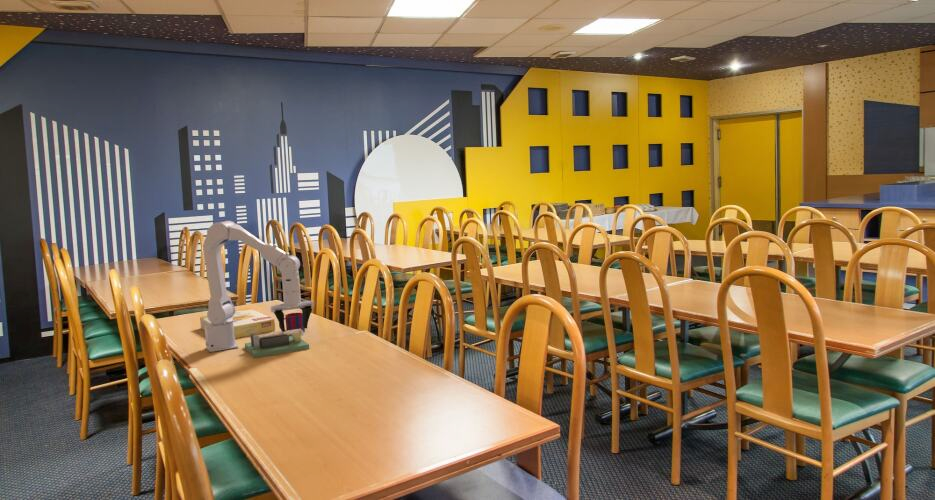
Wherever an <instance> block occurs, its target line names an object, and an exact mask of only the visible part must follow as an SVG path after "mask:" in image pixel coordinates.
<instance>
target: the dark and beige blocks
mask: <svg viewBox="0 0 935 500" xmlns="http://www.w3.org/2000/svg"><path fill="white" fill-rule="evenodd" d="M254 335H256V336H254ZM258 335H259V334H256V333H255V332H253V333H250V336H249V338H250V342H251V346H254V349H255V350H256V349H260V347H261V348H262V349H266V348H272V347H278V346H285V345H290V342H289V336H290V335H282V336H275V337H269V338H262V339H259V336H258ZM291 336H292V340H293V341H295V342H300V341H301V339H302V336H301V333H295V334H291Z"/></svg>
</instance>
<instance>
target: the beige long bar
mask: <svg viewBox="0 0 935 500" xmlns="http://www.w3.org/2000/svg"><path fill="white" fill-rule="evenodd" d="M295 333H301V337H303V336H304V332H303V330H302V329H295V330H288V331H285V332H282V331H276V332H275V331H273V332H267V333H261V334H256V335H258V336H259V339H262V338H269V337H275V336H282V335H288V336H290V335H292V334H295ZM256 335H254V336H256Z"/></svg>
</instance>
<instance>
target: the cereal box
mask: <svg viewBox="0 0 935 500" xmlns="http://www.w3.org/2000/svg"><path fill="white" fill-rule="evenodd" d="M232 318H233V324H234V336H235V339H239V338H243V337H244V338H245V337H250V333H253V332H255V333H256V335H261V334H267V333H272V332H275V331H276V324H275V319H274V318H273V317H271V316H268V315H267V314H264V313H262V312H259V311H257V310H255V309H252V308H250V307H247V308H241V309H235V313H234V315H233V316H232ZM199 322H200V328H201V329H202V330H203V329H204V331H205V325H209V324H211V322H210V321H209V319H208V317H207V315H205V316H200V318H199Z"/></svg>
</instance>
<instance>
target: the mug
mask: <svg viewBox="0 0 935 500" xmlns="http://www.w3.org/2000/svg"><path fill="white" fill-rule="evenodd" d="M284 321H285V331H288V330H295V329H302V330H303V333H305V331H306V330H305V328H304V327H303V314H302V312H290V313H287V314H284ZM278 326H279V329H280V330H281V326H280V324H279V323H278Z"/></svg>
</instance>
